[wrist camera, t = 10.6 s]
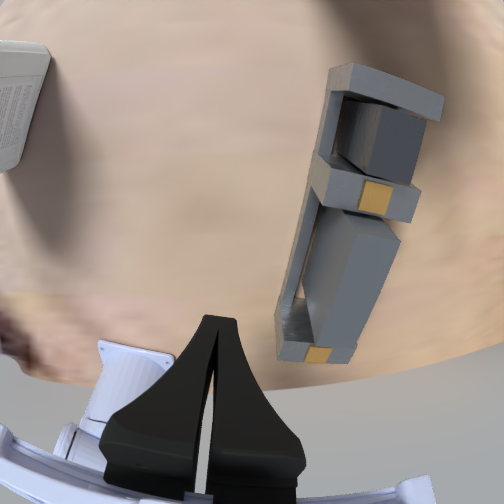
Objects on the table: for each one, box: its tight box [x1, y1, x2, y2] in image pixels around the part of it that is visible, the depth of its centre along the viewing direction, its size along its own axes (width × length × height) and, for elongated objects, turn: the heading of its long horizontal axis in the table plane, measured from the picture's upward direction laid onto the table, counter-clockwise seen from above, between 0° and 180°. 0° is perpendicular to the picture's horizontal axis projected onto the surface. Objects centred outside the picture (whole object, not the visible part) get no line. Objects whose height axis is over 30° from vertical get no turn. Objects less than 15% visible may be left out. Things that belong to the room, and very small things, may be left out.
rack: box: [274, 62, 445, 364], centre depth 18 cm, size 19×6×6 cm, turn 171°
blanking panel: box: [302, 205, 401, 349], centre depth 19 cm, size 8×2×7 cm, turn 171°
